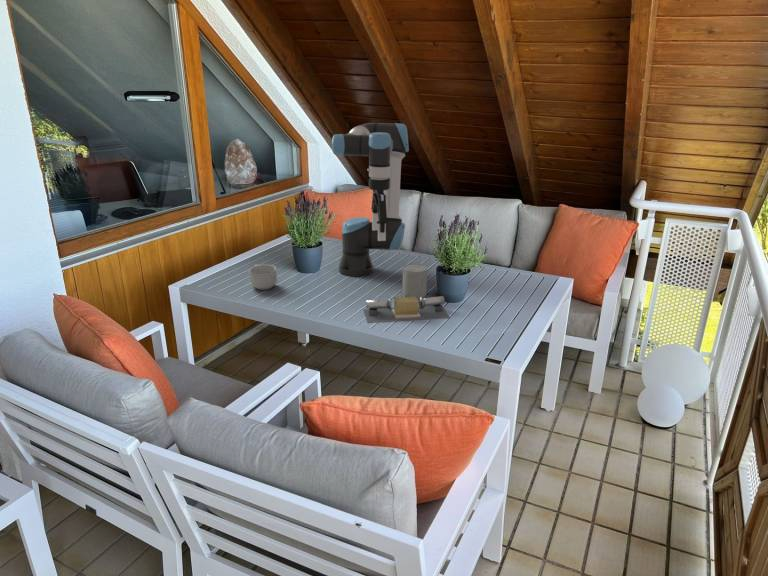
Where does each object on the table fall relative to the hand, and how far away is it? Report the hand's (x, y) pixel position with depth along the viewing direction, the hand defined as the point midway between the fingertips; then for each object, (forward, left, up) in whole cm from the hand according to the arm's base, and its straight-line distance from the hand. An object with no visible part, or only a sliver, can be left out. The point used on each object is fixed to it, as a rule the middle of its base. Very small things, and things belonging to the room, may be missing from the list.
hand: (378, 235), depth 213 cm
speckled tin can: (-3, +15, -27) cm, 31 cm away
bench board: (+15, +8, -27) cm, 32 cm away
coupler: (+15, +8, -25) cm, 30 cm away
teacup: (-23, -44, -27) cm, 57 cm away
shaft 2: (+13, +18, -26) cm, 34 cm away
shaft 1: (+13, -2, -26) cm, 29 cm away
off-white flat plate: (+15, +8, -26) cm, 31 cm away
